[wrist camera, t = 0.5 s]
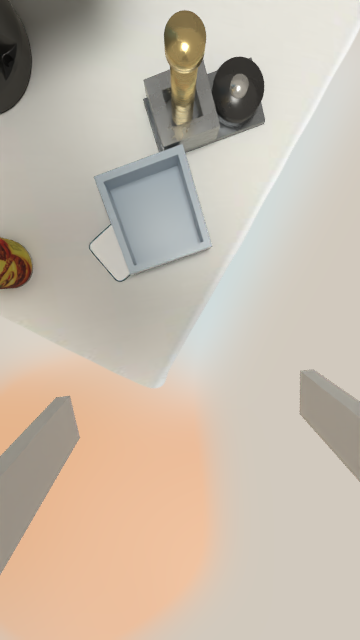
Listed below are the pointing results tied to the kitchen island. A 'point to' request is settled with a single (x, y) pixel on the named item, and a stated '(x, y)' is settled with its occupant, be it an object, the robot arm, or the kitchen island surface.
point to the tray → (154, 210)
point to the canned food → (14, 264)
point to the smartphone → (110, 254)
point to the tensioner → (208, 105)
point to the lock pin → (184, 61)
